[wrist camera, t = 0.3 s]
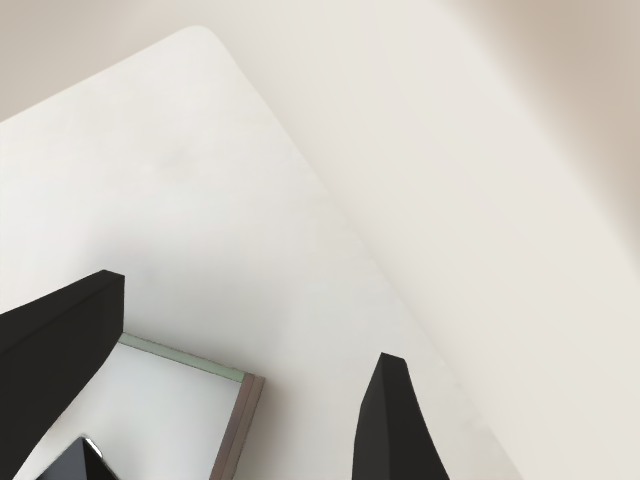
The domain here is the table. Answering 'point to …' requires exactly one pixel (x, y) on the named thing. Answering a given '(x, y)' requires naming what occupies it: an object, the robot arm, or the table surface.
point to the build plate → (79, 464)
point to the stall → (242, 407)
